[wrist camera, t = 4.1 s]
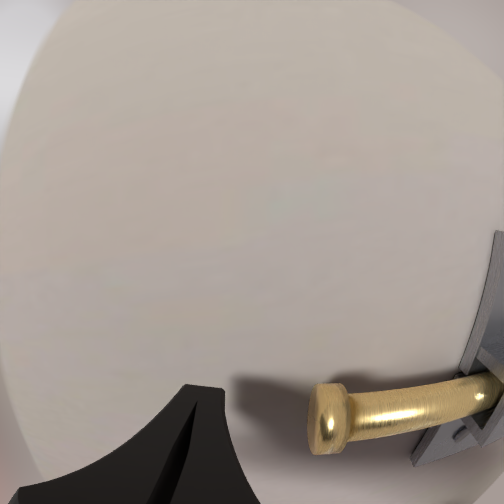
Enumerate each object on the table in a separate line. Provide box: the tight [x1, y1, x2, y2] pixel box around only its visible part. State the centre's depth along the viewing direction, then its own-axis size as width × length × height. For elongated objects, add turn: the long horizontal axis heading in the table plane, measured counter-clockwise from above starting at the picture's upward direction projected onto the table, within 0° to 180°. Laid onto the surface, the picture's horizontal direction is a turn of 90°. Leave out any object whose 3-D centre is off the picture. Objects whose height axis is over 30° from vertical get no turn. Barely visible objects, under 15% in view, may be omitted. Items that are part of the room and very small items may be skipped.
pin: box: [307, 371, 504, 455], centre depth 8 cm, size 3×14×3 cm, turn 86°
